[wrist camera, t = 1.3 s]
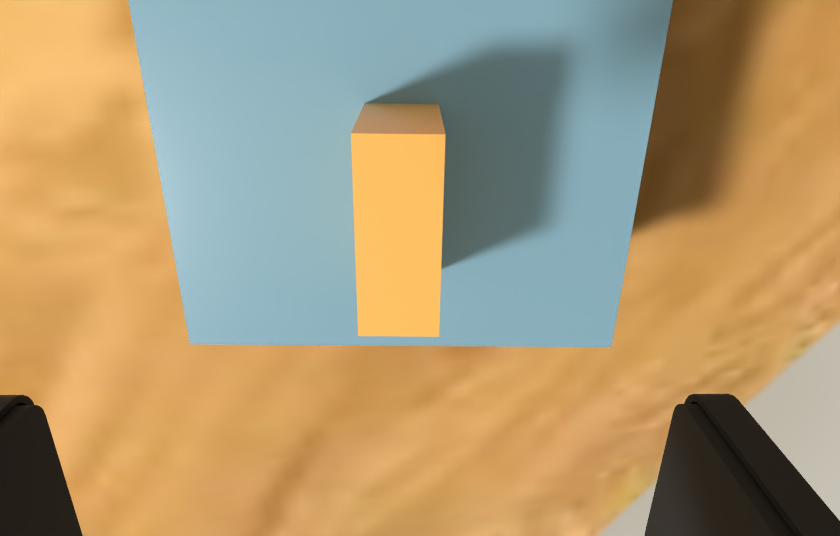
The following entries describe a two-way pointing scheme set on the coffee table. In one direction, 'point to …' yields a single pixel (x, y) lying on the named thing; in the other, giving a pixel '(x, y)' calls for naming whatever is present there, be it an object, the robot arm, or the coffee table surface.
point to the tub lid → (401, 165)
